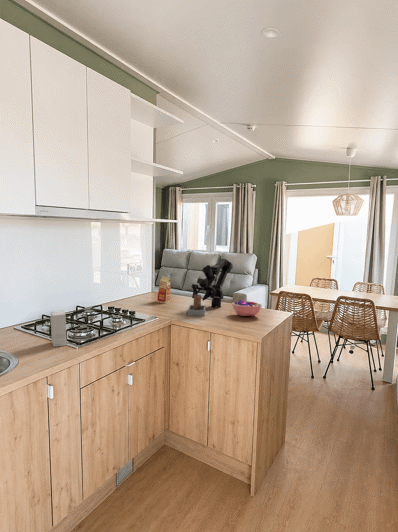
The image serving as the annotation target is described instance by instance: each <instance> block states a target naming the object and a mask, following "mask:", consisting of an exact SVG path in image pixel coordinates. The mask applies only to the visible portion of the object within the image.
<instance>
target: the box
mask: <svg viewBox="0 0 398 532" xmlns="http://www.w3.org/2000/svg"><path fill="white" fill-rule="evenodd" d="M193 305H194V304H190V305H189V306H188V309H187V316H199V317H200V316H201V317H204V316H205V314H206V310H207V309H206V307H207V306H206V305H202V304H201V310H193Z"/></svg>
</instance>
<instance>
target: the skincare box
mask: <svg viewBox="0 0 398 532" xmlns="http://www.w3.org/2000/svg"><path fill="white" fill-rule="evenodd" d="M66 315H67V314H66V313H65V312H64V310H62V311H61V310H60V311H59V310H58V311H52V312H50V327H51V328H50V330H51V332H50V333H51V344H52V346H53V347H55V348H56V347H65V346H67V345H68V344H67V343H68V342H67V322H66V321H67V319H66V318H67V317H66Z"/></svg>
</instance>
